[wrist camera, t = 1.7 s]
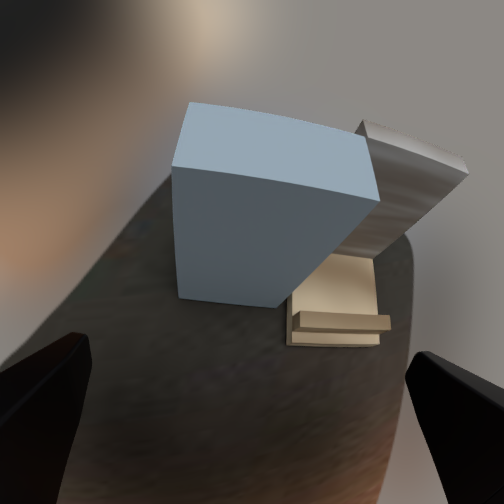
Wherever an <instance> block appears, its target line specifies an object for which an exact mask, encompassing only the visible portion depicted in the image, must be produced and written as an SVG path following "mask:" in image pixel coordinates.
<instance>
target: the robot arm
mask: <svg viewBox="0 0 504 504" xmlns="http://www.w3.org/2000/svg"><path fill="white" fill-rule="evenodd" d="M91 369H92V357H91V351H90V345H89V339H88V336H87V335H86V334H83V333H77V332H71V333H69V334H67V335H65V336H63V337H61V338H60V339H58V340H56V341H54V342H53V343H51V344H49V345H47V346H46V347H44V348H42V349H40V350H39V351H37V352H35V353H33V354H32V355H30V356H28V357H26V358H25V359H23V360H21V361H19V362H18V363H16V364H14V365H12V366H11V367H9V368H7V369H5V370H4V371H2V372H0V504H56V502H57V498H58V494H59V490H60V486H61V482H62V478H63V475H64V471H65V467H66V464H67V460H68V457H69V454H70V450H71V447H72V444H73V440H74V437H75V434H76V431H77V428H78V425H79V421H80V418H81V413H82V409H83V404H84V399H85V395H86V390H87V386H88V382H89V377H90V373H91ZM405 381H406V384H407V387H408V390H409V393H410V397H411V400H412V403H413V406H414V410H415V413H416V416H417V419H418V422H419V425H420V427H421V430H422V432H423V435H424V437H425V440H426V442H427V445H428V447H429V450H430V453H431V455H432V458H433V461H434V463H435V466H436V469H437V472H438V474H439V477H440V480H441V483H442V486H443V489H444V492H445V495H446V498H447V501H448V504H504V389H503V388H501V387H498V386H496V385H495V384H493V383H491V382H489V381H487V380H485V379H483V378H481V377H479V376H477V375H475V374H473V373H471V372H469V371H467V370H465V369H463V368H461V367H459V366H457V365H455V364H453V363H451V362H449V361H447V360H445V359H443V358H441V357H439V356H437V355H435V354H433V353H431V352H429V351H422V352H417V353H416V354H415V356H414V358H413V360H412V362H411V364H410V366H409V368H408V370H407V371H406V374H405Z"/></svg>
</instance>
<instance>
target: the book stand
mask: <svg viewBox="0 0 504 504" xmlns="http://www.w3.org/2000/svg"><path fill="white" fill-rule="evenodd" d="M354 134H357V135H361V136H364V137H365V139H366V143H367V147H368V150H369V154H370V158H371V162H372V167H373V171H374V175H375V180H376V184H377V189H378V193H379V198H380V202H379V203H378V204H377V205H376V206H375V207H374V209H373V210H372V211H371V212H370V213H369V214H368V215H367V216H366V217H365V218H364V219H363V220H362V221H361V223H360V224H359V225H358V226H357V227H356V228H355V229H354V230H353V231H352V232H351V233H350V234H349V235H348V236H347V237H346V238H345V239H344V241H343V242H342V243H341V244H340V245H339V246H338V247H337V248H336V249H335V250H334V251H333V252H332V253H331V254H330V255H329V256H328V257H327V258H326V259H325V260H324V261H323V262H322V263H321V264H320V265H319V266H318V267H317V268H316V269H315V270H314V271H313V272H312V273H311V274H310V275H309V276H308V277H307V278H306V279H305V280H304V281H303V282H302V283H301V284H300V285H299V286H298V287H297V288H296V289H295V290H294V291H293V292H292V293H291V294H290V295H289V296H288V297H287V339H286V345H293V346H322V347H372V346H375V345H378V344H379V334H381V333H384V332H387V331H389V330H391V324H390V315H378V311H377V299H376V288H375V278H374V268H373V260H372V259H373V258H374V257H376V256H377V255H378V254H379V253H380V252H382V251H383V250H384V249H385V248H387V247H388V246H389V245H390V244H391V243H393V242H394V241H395V240H396V239H397V238H399V237H400V236H401V235H402V234H403V233H405V232H406V231H407V230H408V229H409V228H410V227H412V226H413V225H414V224H415V223H416V222H417V221H419V219H421V218H422V217H423V216H424V215H425V214H427V213H428V212H429V211H430V210H431V209H432V208H433V207H434V206H436V205H437V204H438V203H439V202H440V201H441V200H442V199H443V198H444V197H445V196H447V195H448V194H449V193H450V192H451V191H452V190H453V189H454V188H455V187H456V186H457V185H458V184H460V182H461V181H462V180H464V179H465V178H466V177H467V176H468V175H469V172H468V170H467V168H466V165H465V163H464V160H463V158H462V157H461V156H459V155H456V154H454V153H452V152H450V151H447V150H445V149H443V148H440V147H438V146H436V145H433V144H431V143H428V142H426V141H423V140H421V139H418V138H415V137H413V136H410V135H407V134H405V133H402V132H399V131H396V130H394V129H391V128H388V127H385V126H382V125H379V124H376V123H373V122H369V121H366V120H362V122H361V123H360V125H359V127H358V129H357V130H356V132H355V133H354Z"/></svg>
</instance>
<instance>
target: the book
mask: <svg viewBox="0 0 504 504" xmlns="http://www.w3.org/2000/svg"><path fill="white" fill-rule="evenodd" d="M172 201H173V224H174V242H175V258H176V272H177V284H178V296H179V298H182V299H190V300H199V301H208V302H217V303H226V304H236V305H246V306H257V307H268V308H277V307H278V306H279V305H280V304H281V303H282V302H283V301H284V300H285V299H286V298H287V297H288V296H289V295H290V294H291V293H292V292H293V291H294V290H295V289H296V288H297V287H298V286H299V285H300V284H301V283H302V282H303V281H304V280H305V279H306V278H307V277H308V276H309V275H310V274H311V273H312V272H313V271H314V270H315V269H316V268H317V267H318V266H319V265H320V264H321V263H322V262H323V261H324V260H325V259H326V258H327V257H328V256H329V255H330V254H331V253H332V252H333V251H334V250H335V249H336V248H337V247H338V246H339V245H340V244H341V243H342V242H343V241H344V239H345V238H346V237H347V236H348V235H349V234H350V233H351V232H352V231H353V230H354V229H355V228H356V227H357V226H358V225H359V224H360V223H361V221H362V220H363V219H364V218H365V217H366V216H367V215H368V214H369V213H370V212H371V211H372V210H373V209H374V207H375V206H376V205H377V204H378V203H379V202H380V198H379V193H378V189H377V184H376V180H375V175H374V171H373V167H372V162H371V158H370V154H369V150H368V147H367V143H366V139H365V137H364V136H361V135H357V134H353V133H350V132H346V131H342V130H339V129H335V128H331V127H327V126H323V125H319V124H315V123H311V122H307V121H302V120H297V119H293V118H288V117H283V116H278V115H273V114H268V113H263V112H257V111H251V110H245V109H239V108H232V107H226V106H219V105H211V104H203V103H193V102H190V103H189V106H188V109H187V112H186V116H185V119H184V122H183V126H182V129H181V133H180V136H179V140H178V144H177V148H176V151H175V155H174V159H173V163H172Z"/></svg>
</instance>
